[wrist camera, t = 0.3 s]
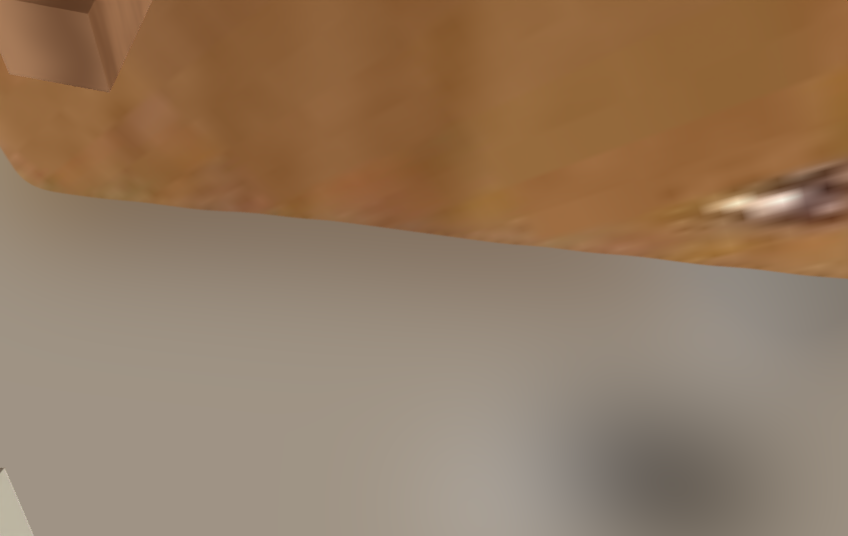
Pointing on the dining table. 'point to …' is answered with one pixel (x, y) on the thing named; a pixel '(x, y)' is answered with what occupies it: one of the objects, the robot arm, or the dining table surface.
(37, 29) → the cherry block
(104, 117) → the dining table surface
